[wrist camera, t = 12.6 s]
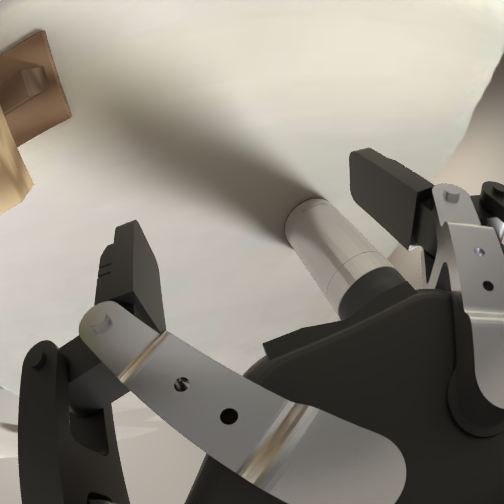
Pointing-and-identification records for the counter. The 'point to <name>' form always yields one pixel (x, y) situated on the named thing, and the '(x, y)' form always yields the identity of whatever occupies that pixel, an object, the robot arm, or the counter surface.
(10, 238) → the counter surface
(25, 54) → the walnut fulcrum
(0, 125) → the light tan wooden bar
